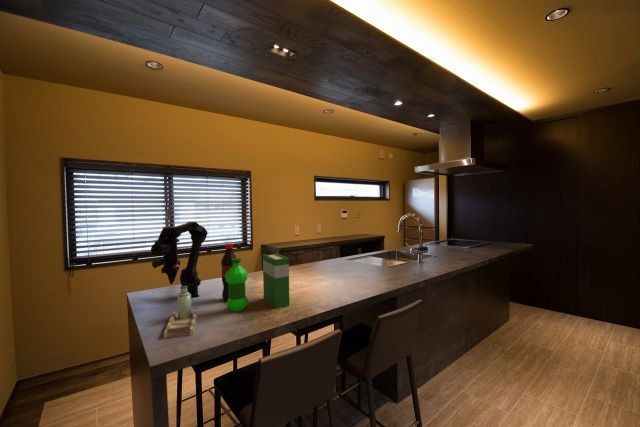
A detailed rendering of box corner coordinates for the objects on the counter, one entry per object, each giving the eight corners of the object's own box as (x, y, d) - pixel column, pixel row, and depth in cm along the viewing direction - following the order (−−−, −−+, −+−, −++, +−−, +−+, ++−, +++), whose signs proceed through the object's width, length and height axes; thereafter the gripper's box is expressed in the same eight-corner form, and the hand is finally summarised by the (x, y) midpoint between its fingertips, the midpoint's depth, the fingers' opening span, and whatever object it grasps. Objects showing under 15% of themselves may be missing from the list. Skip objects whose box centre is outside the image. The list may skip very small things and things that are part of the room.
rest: (173, 316, 134) (173, 308, 134) (198, 313, 138) (197, 306, 138) (164, 339, 112) (163, 330, 112) (193, 335, 115) (193, 326, 115)
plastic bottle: (225, 308, 144) (223, 257, 143) (246, 305, 148) (245, 256, 147) (227, 315, 135) (225, 261, 134) (250, 311, 139) (249, 259, 138)
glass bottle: (189, 313, 136) (188, 283, 136) (193, 317, 132) (192, 286, 131) (176, 316, 133) (175, 286, 132) (180, 320, 128) (179, 289, 128)
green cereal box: (263, 298, 158) (262, 254, 157) (276, 296, 162) (275, 253, 161) (275, 308, 143) (274, 259, 142) (289, 305, 146) (288, 258, 145)
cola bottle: (241, 297, 159) (240, 243, 158) (232, 302, 152) (230, 245, 150) (228, 296, 162) (227, 242, 161) (218, 301, 154) (217, 244, 153)
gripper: (156, 250, 153) (157, 279, 153) (148, 256, 135) (149, 289, 136) (180, 248, 156) (181, 277, 157) (175, 254, 138) (176, 287, 139)
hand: (172, 282), depth 147 cm, fingers open, 4 cm apart
